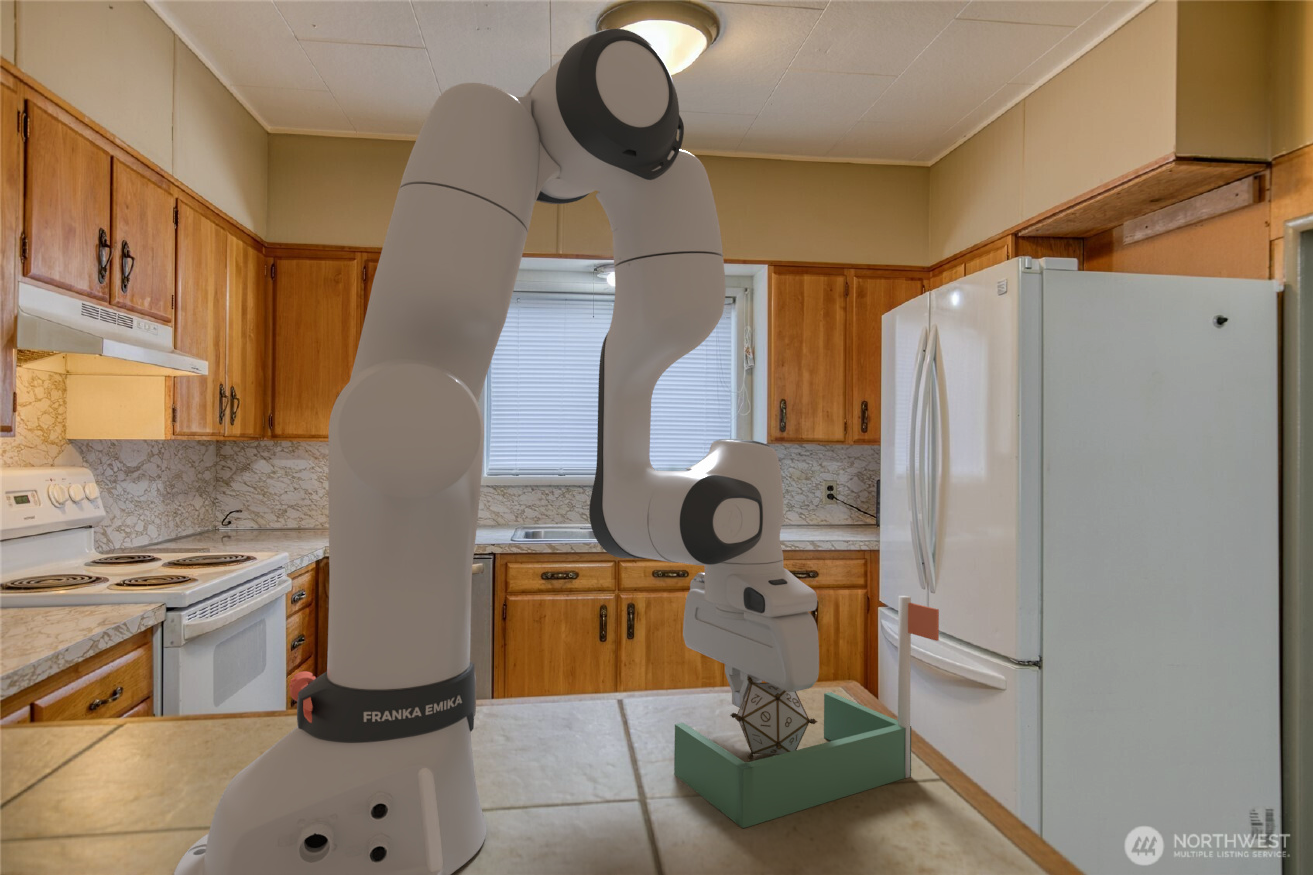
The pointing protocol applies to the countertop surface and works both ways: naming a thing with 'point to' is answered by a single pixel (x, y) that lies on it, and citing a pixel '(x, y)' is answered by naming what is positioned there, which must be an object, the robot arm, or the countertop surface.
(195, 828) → the countertop surface
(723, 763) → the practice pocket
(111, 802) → the countertop surface
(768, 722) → the game die
